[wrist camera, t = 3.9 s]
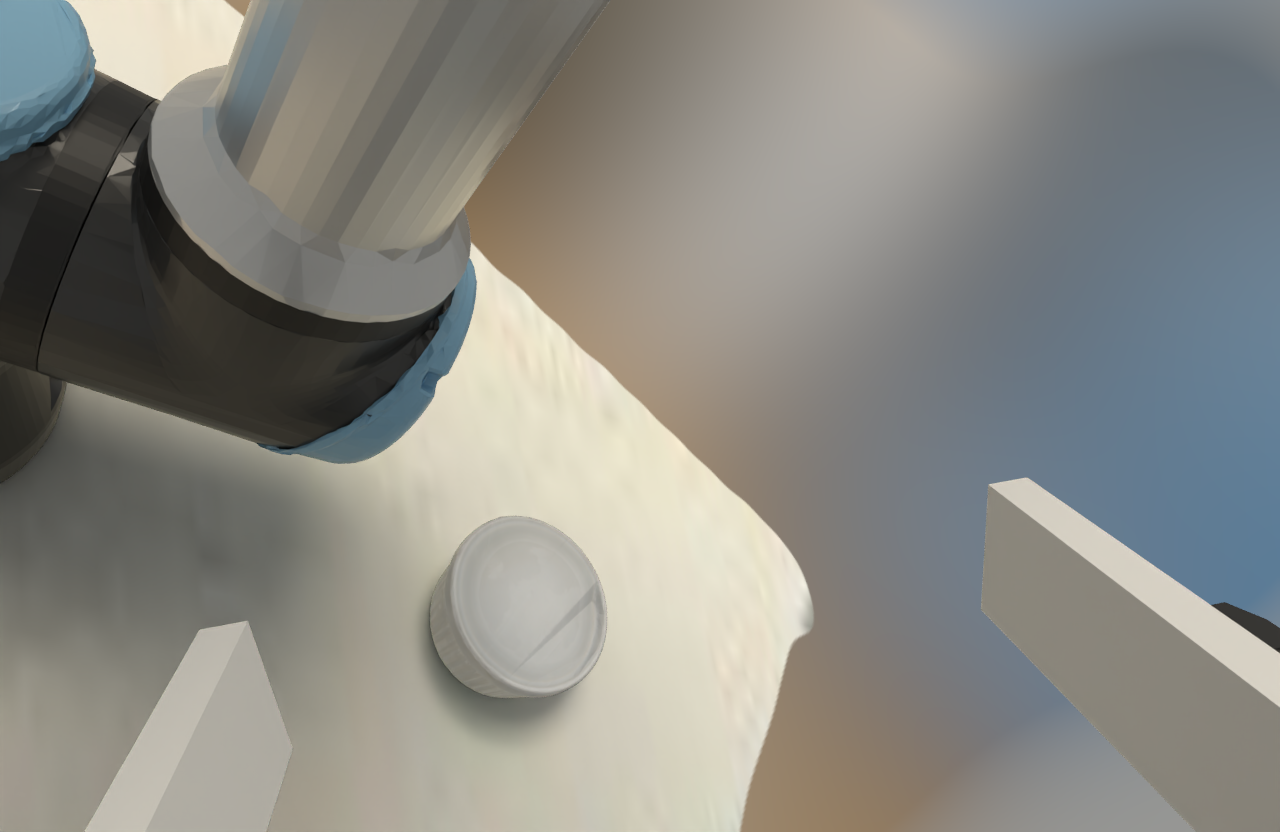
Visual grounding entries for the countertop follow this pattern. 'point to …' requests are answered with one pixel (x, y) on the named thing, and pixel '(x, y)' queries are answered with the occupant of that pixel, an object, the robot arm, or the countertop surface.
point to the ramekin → (519, 611)
